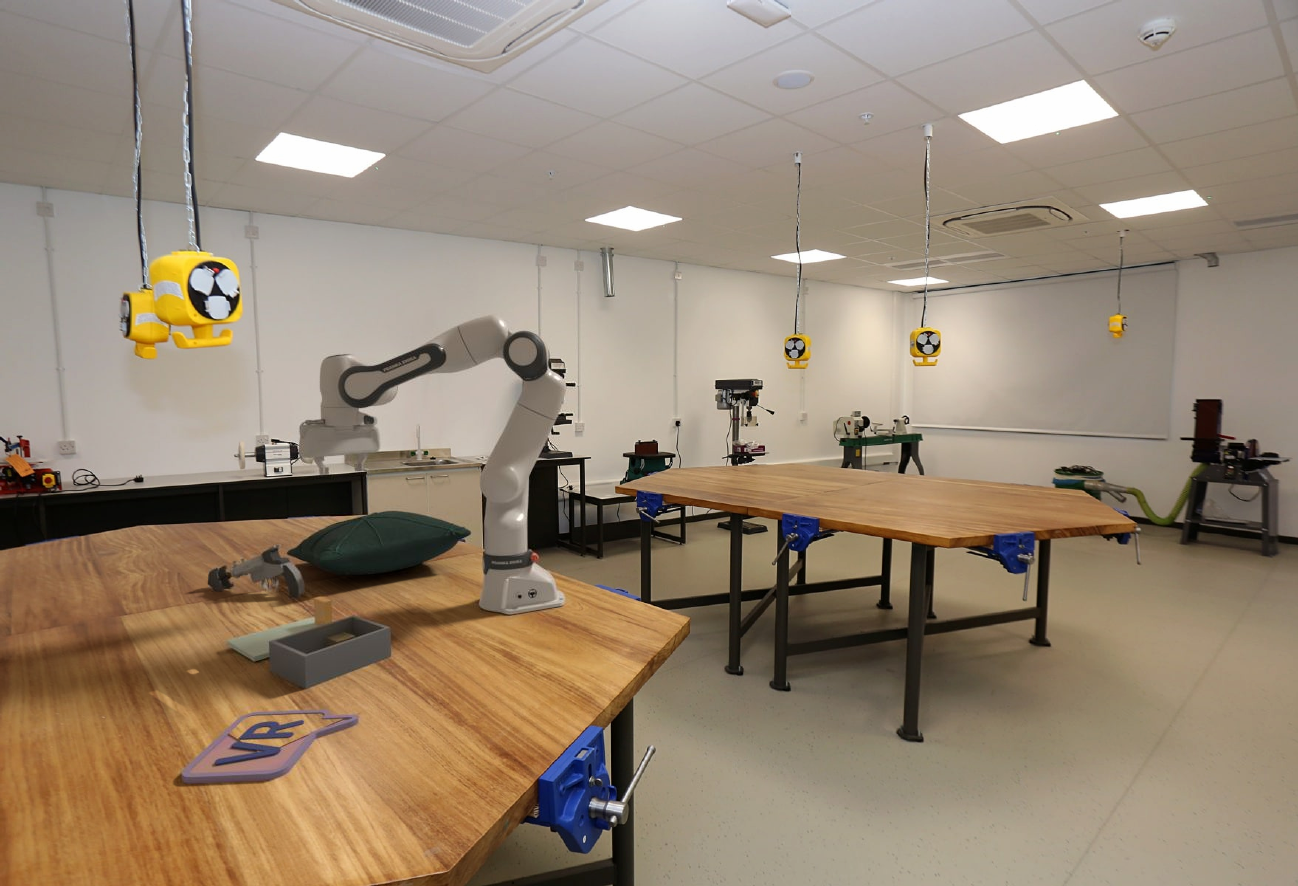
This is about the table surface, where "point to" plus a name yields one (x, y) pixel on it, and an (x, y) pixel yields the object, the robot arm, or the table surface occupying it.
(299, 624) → the lid
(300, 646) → the tub
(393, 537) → the pillow
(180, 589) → the table surface
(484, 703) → the table surface
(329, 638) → the brass block
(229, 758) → the icon
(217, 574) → the grey mechanical piece
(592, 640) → the table surface
